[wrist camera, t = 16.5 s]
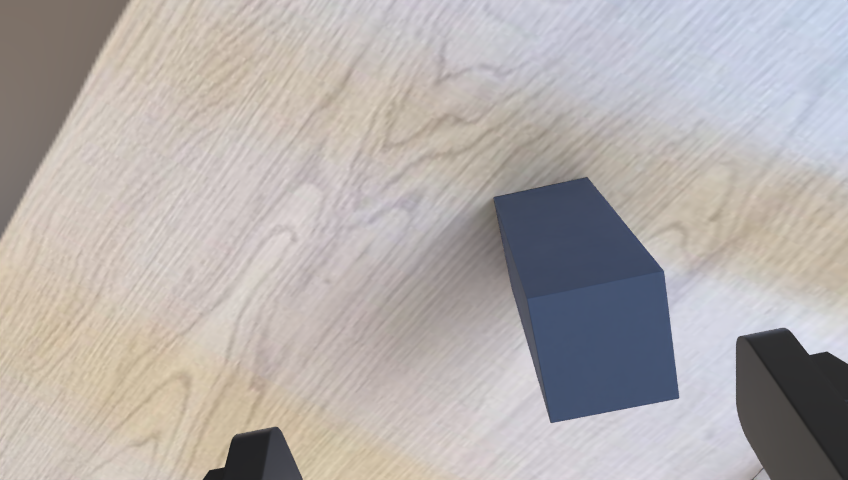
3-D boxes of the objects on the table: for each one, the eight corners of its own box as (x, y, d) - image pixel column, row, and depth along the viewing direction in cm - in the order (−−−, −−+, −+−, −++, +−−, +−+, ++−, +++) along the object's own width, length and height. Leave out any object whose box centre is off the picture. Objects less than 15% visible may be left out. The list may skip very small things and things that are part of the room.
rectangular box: (526, 299, 29) (551, 425, 31) (664, 270, 29) (679, 400, 31) (493, 197, 42) (512, 290, 44) (587, 176, 42) (602, 272, 44)
